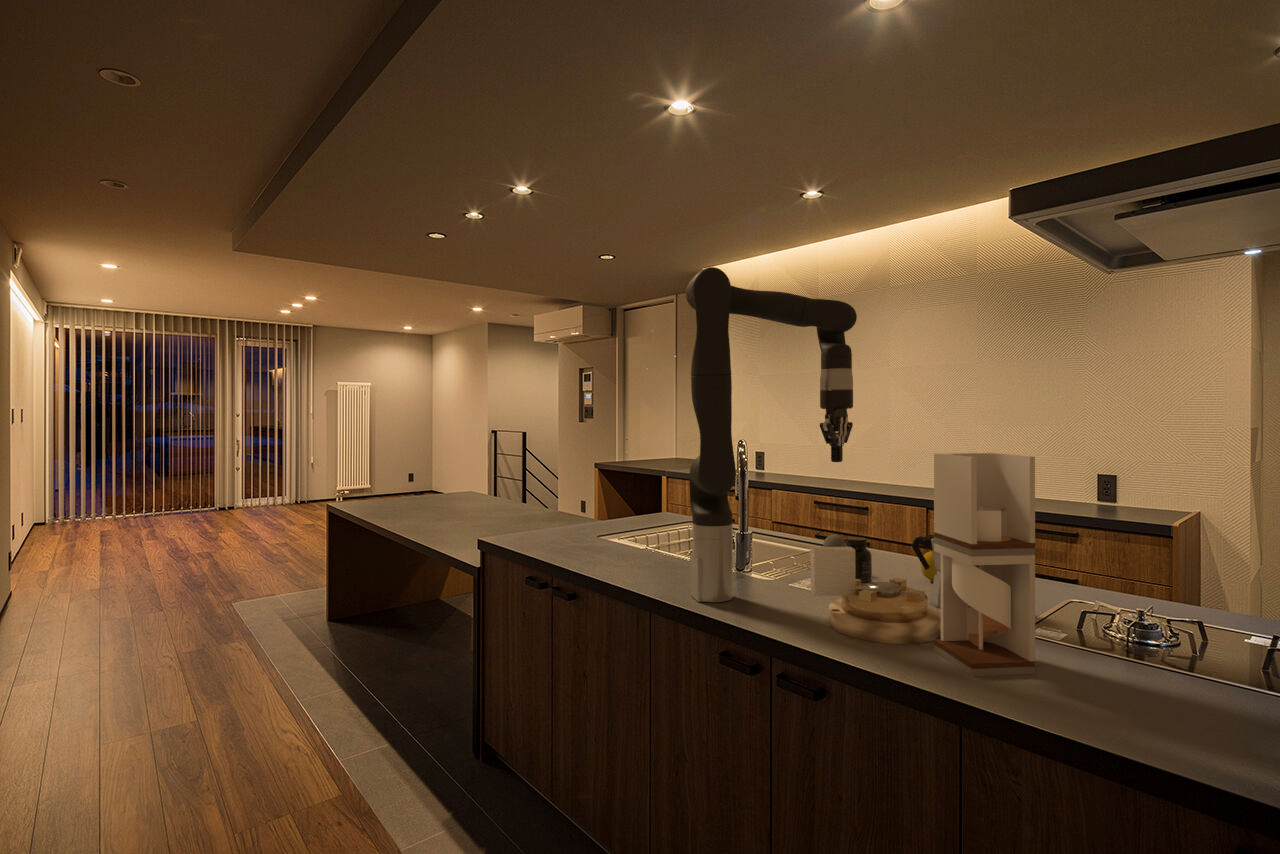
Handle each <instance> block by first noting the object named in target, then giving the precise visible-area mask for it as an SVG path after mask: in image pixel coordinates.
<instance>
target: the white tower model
mask: <svg viewBox="0 0 1280 854" xmlns="http://www.w3.org/2000/svg"><path fill="white" fill-rule="evenodd" d="M933 535H934V551H935V552H938V553H941V609H940V614H941V636H940V639H939V638H937V639H935V640H933V641H934V647H933V648H934V652H935V653H937V654H938V655H940V657H943V658H944V659H945V660H946V661H948V662H949V663H951V664H953V665H954V666H956V667H957V668H958V669H960V670H962V671H963V672H965V673H966V674H967V675H969V676H970V677H985V676H986V677H988V676H989V677H990V676H991V677H993V676H1016V675H1017V676H1019V675H1036V456H1034V455H1033V456H1032V455H1020V454H1006V453H999V452H998V453H995V452H973V453H972V452H966V453H965V452H961V453H960V452H959V453H957V452H954V453H953V452H952V453H948V452H947V453H933Z"/></svg>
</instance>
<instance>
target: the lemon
mask: <svg viewBox="0 0 1280 854" xmlns="http://www.w3.org/2000/svg"><path fill="white" fill-rule="evenodd" d="M923 556H924V557H925V559H926V561H927V563H928V564H929V566H930V568H928V569H927V570H925V569H924V567H923V565H922V564H921V563H920V571H921V574H922V575H923V576H924V578H926V579H928V580H929V581H930V582H931V583H933V582H934V576H935V574H936V573H937V570H936V569H935V566H934V559H933V551H931V550H929V551H928V552H925V553H924V554H923Z"/></svg>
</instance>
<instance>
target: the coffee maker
mask: <svg viewBox="0 0 1280 854" xmlns="http://www.w3.org/2000/svg"><path fill="white" fill-rule="evenodd" d="M919 546H922V547H924V548H926V549H928V550H929V551H933V559H934V566H935V569H936V570H937V573H936V574H935V576H934V582H932V588H931V595H930V600H929V601H930V602H929V604H930V605H931V604H932V606H933V605H934V606H935V608H936V607H937V608H936V609H939V608H941V553H938V552H935V551H934V534H928V535H925V536H923V535H920V536H916V537H915V538H914V539H913V541H912V543H911V548H912V550H913V551H914V553H915V555H916V557H917V558H918V560H919V562H920V565H921V564H922V565H923V567H924V569H925V570H927V569H928V568H930V566H929V564H928V563H927V561H926V559H925V557H924V556H923V555H924V554H923V552H922V551H921V549H920V548H919ZM934 606H933V607H934Z"/></svg>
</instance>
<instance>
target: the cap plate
mask: <svg viewBox="0 0 1280 854" xmlns="http://www.w3.org/2000/svg"><path fill="white" fill-rule="evenodd" d="M828 624H829V626H830V627H831V628H832V629H833V630H834V631H837V632H838V633H840V634H843V635H845V636H848V637H851V638H853V639H854V638H855V639H858V640H862V641H867V642H871V643H872V642H873V643H880V644H891V645H915V644H916V645H917V644H923V643H924V644H925V643H928V642H929V643H930V642H933V641H934V640H937V639H939V638H941V612H939V611H938V610H936V609H934V608H933V607H930V606H928V614H927V616H926V617H925V618H923V619H920V620H916V621H908V622H887V621H878V620H871V619H866V618H861V617H858V616H855V615H852V614H849V613H847V612H846V611H844V610H843V609H842V607H841V598H840V599H836V600H834V601H832V602H830V603H829V605H828Z"/></svg>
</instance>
